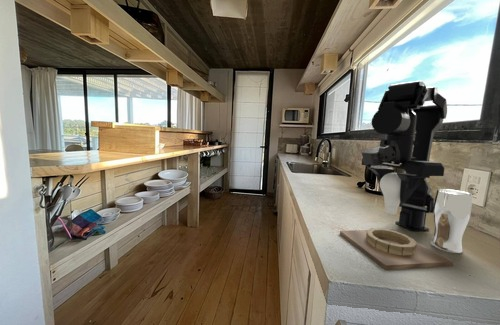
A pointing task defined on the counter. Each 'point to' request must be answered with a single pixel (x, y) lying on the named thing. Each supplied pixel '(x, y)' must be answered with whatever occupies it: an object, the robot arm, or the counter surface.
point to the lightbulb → (391, 192)
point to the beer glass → (450, 219)
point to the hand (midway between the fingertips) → (392, 198)
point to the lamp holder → (394, 249)
